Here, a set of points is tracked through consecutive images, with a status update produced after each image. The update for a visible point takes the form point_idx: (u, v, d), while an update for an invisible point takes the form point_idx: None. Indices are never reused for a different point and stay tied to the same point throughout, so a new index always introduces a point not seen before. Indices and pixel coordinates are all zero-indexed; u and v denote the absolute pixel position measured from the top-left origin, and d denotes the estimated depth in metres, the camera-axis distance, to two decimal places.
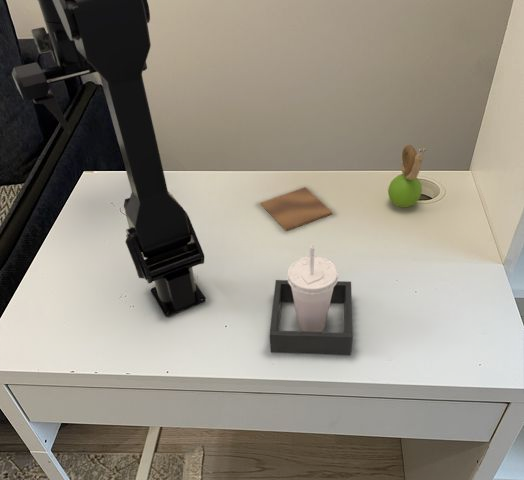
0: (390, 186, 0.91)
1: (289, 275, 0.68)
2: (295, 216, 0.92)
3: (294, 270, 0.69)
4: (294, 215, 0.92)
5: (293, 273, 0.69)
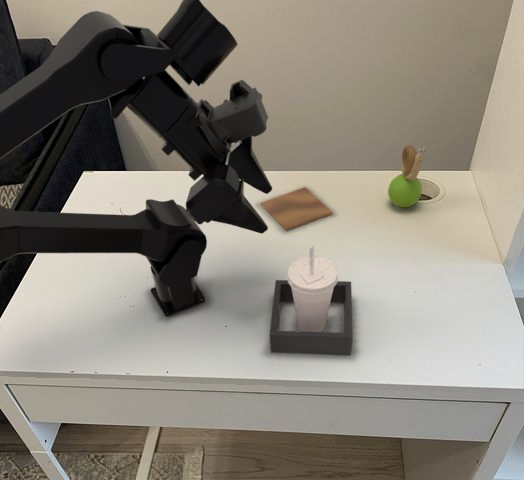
0: (390, 186, 0.91)
1: (289, 275, 0.68)
2: (295, 216, 0.92)
3: (294, 270, 0.69)
4: (294, 215, 0.92)
5: (293, 273, 0.69)
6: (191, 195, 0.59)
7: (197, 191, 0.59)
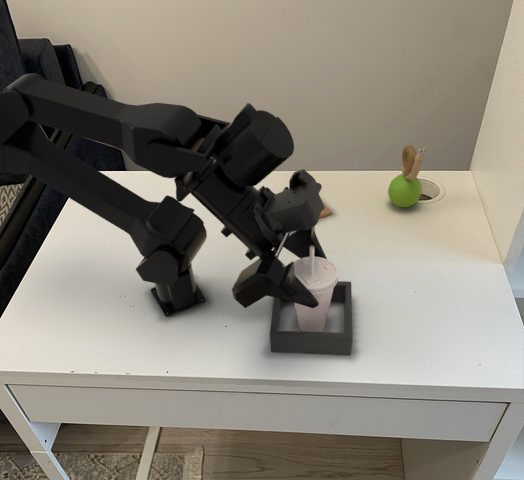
0: (390, 186, 0.91)
1: None
2: None
3: (294, 270, 0.69)
4: None
5: None
6: (238, 282, 0.63)
7: (242, 280, 0.62)
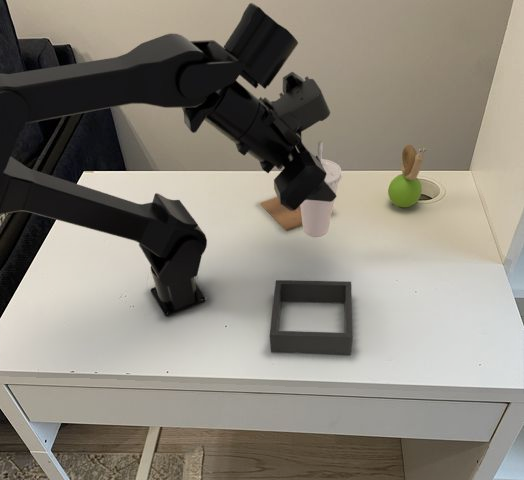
0: (390, 186, 0.91)
1: None
2: (295, 216, 0.92)
3: None
4: (294, 215, 0.92)
5: None
6: (282, 186, 0.65)
7: (289, 181, 0.64)
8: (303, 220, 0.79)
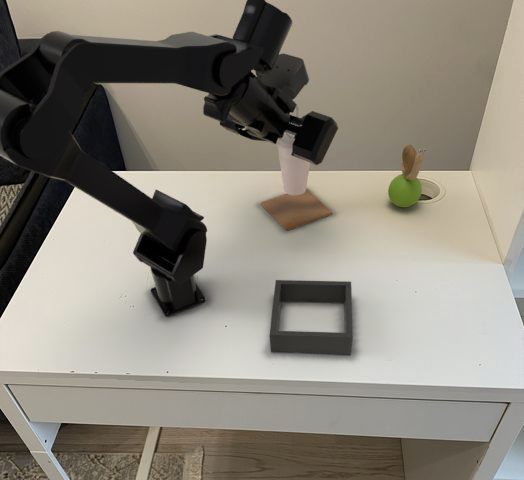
0: (390, 186, 0.91)
1: (291, 143, 0.82)
2: (295, 216, 0.92)
3: (286, 140, 0.83)
4: (294, 215, 0.92)
5: (289, 141, 0.82)
6: (309, 144, 0.74)
7: (314, 138, 0.74)
8: (289, 183, 0.88)
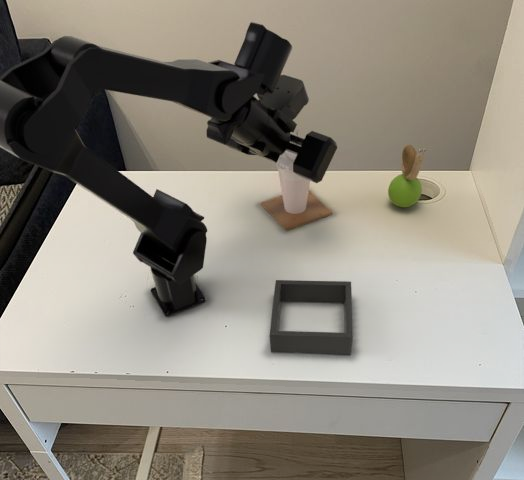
0: (390, 186, 0.91)
1: (291, 165, 0.85)
2: (295, 216, 0.92)
3: (286, 162, 0.85)
4: (294, 215, 0.92)
5: (289, 163, 0.85)
6: (309, 164, 0.76)
7: (314, 157, 0.76)
8: (289, 202, 0.91)
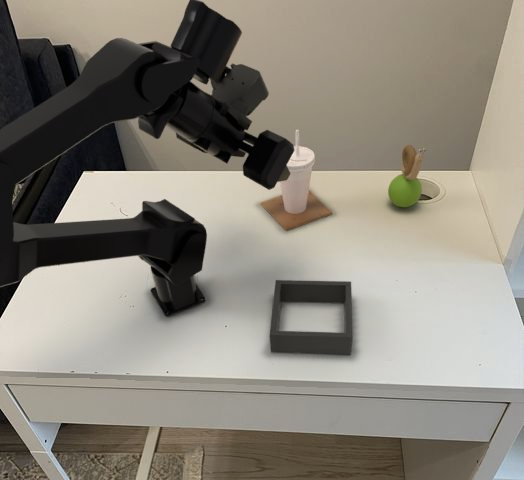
0: (390, 186, 0.91)
1: (291, 165, 0.85)
2: (295, 216, 0.92)
3: None
4: (294, 215, 0.92)
5: (289, 163, 0.85)
6: (259, 167, 0.67)
7: (265, 160, 0.66)
8: (289, 202, 0.91)
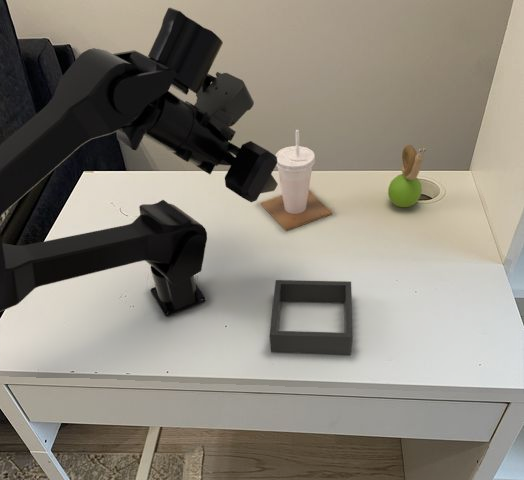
0: (390, 186, 0.91)
1: (291, 165, 0.85)
2: (295, 216, 0.92)
3: (286, 162, 0.85)
4: (294, 215, 0.92)
5: (289, 163, 0.85)
6: (240, 180, 0.65)
7: (246, 173, 0.65)
8: (289, 202, 0.91)
